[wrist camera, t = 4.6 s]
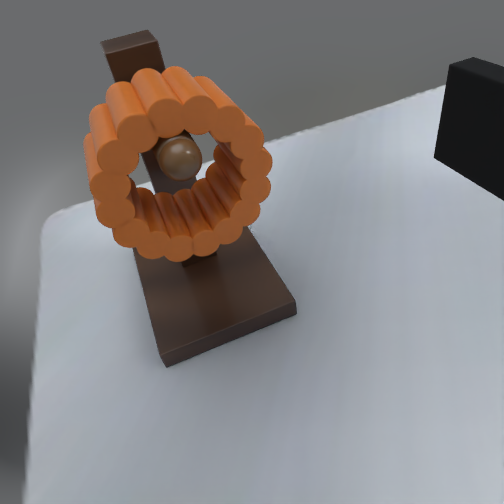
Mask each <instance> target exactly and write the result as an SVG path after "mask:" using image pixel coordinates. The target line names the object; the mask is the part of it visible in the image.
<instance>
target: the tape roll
mask: <svg viewBox="0 0 504 504" xmlns="http://www.w3.org/2000/svg"><path fill="white" fill-rule="evenodd" d="M89 123H90V128H91V132H90V133H89V134H87V136H86V137H85V139H84V143H83V146H84V153H85V159H86V166H87V172H88V178H89V186H90V191H91V193H92V195H93V198H94V204H95V210H96V216H97V219H98V220H99V222H100V223H101V224H102V225H104V226H106V227H108V228H112V232H113V237H114V240H115V241H116V242H117V243H118V244H119V245H121V246H123V247H127V248H134V247H136V248H137V251H138V253H139V254H140V255H141V256H142V257H144V258H147V259H157V258H160V257H162V256H165V257H166V258H167V259H168V260H170V261H173V262H181V261H184V260H187V259H188V258H190V257H191V256H192V255H193V254H195V255H197V256H208V255H210V254H212V253H214V252H215V251H216V250H217V249H218V247H219V245H220V244H230V243H233V242H234V241H236V240H237V239H238V238H239V237H240V236H241V234H242V231H243V227H245V226H248V225H250V224H252V223H254V222H255V221H256V220H257V218H258V217H259V214H260V205H259V203H261V202H263V201H264V200H265V199H266V198H267V197H268V195H269V193H270V190H271V183H270V181H269V179H268V178H267V177H266V176H267V175H268V173H269V172H270V170H271V168H272V157H271V155H270V153H269V152H268V151H267V150H266V149H265V148H264V147H263V144H264V135H263V132H262V130H261V129H260V128H259V127H258V126H257V125H256V124H255V123H254V122H253V121H252V120H251V119H250V118H249V117H248V116H247V115H246V114H245V113H244V112H243V111H242V110H241V109H240V108H239V107H238V106H237V105H236V104H235V103H234V102H233V101H232V100H231V99H230V98H229V97H228V96H227V95H226V94H224V92H222V90H221V89H220V88H219V87H217V85H216V84H215V83H213V81H211V80H210V79H209V78H207V77H204V76H197V77H194V78H193V77H192V76H191V75H190V74H189V73H188V72H187V71H186V70H185V69H183V68H181V67H177V66H175V67H170V68H168V69H166V70H165V71H163V73H162V74H160V73H159V72H158V71H156V70H154V69H151V68H144V69H141V70H139V71H137V72H136V73H135V74H134V76H133V77H132V80H131V83H129V82H124V81H122V82H117V83H114V84H113V85H111V86H110V87H109V89H108V91H107V93H106V103H105V104H100V105H97V106H96V107H94V108H93V109H92V111H91V112H90V115H89ZM184 129H185V130H186V131H187V132H189V133H191V134H194V135H202V134H205V133H207V132H209V133H210V134H211V135H212V137H213V138H214V139H215V141H216V142H217V143H218V145H217V146H216V148H215V150H214V154H213V156H214V160H215V162H214V163H212V164H211V165H210V166H209V167H208V169H207V171H206V175H205V176H206V178H202V179H199V180H197V181H196V182H195V183H194V184H193V186H192V188H191V190H190V189H182V190H179V191H177V192H176V193H175V194H174V195H172V194H170V193H167V192H159V193H156V194H155V195H153V193H152V192H151V191H150V190H148V189H146V188H142V187H139V188H136V185H135V183H134V181H133V180H132V179H131V178H129V176H128V174H130V173H131V172H133V171H134V170H135V169H136V167H137V165H138V162H139V153H144V152H147V151H149V150H150V149H152V148H153V147H154V146H155V145H156V143H157V141H158V138H159V137H161V138H173V137H175V136H177V135H179V134H180V133H181V132H182V131H183V130H184Z"/></svg>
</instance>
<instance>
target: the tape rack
mask: <svg viewBox="0 0 504 504" xmlns="http://www.w3.org/2000/svg"><path fill="white" fill-rule="evenodd" d="M100 44H101V47H102V50H103V52H104V55H105V58H106V61H107V63H108V66H109V69H110V71H111V74H112V77H113V80H114V82H115V83H117V82H122V81H124V82H129V83H131V80H132V77H133V76H134V74H135V73H136V72H137V71H139V70H141V69H144V68H151V69H154V70H156V71H158V72H159V73H160V74H162V73H163V71H165V70H166V69H165V66H164V62H163V58H162V55H161V51H160V47H159V44H158V41H157V39H155V37H154V36H153V35H152V34H151V33H150V32H149V30H144V31H140V32H136V33H133V34H129V35H125V36H121V37H117V38H113V39H110V40H106V41H102V42H100ZM141 156H142V158H143V161H144V164H145V166H146V169H147V172H148V175H149V178H150V180H151V183H152V186H153V188H154V191H155V194H156V193H159V192H167V193H170V194H172V195H174V194H175V193H176V192H177V191H179V190H182V189H190V190H191V188H192V186H193V184H194V183H195V182H196V181H197V180H196V175H197V173H198V172H199V170H200V168H201V165H202V155H201V152H200V149H199V148H198V146H197V145H196V143H195V142H194V140H193V138H192V137H191V135H190V134H189V132H187V131H186V130H185V129H184V130H183V131H182V132H181V133H180V134H179V135H177V136H175V137H173V138H161V137H159V138H158V141H157V143H156V145H155V146H154V147H153V148H152V149H150V150H149V151H147V152H144V153H141ZM133 252H134V256H135V260H136V264H137V268H138V272H139V276H140V280H141V284H142V288H143V292H144V296H145V299H146V303H147V307H148V311H149V315H150V319H151V323H152V327H153V331H154V335H155V339H156V343H157V347H158V351H159V354H160V357H161V359H162V361H163V363H164V365H165V366H166V367H169V366H171V365H173V364H176V363H178V362H181V361H183V360H186V359H188V358H190V357H193V356H195V355H198V354H200V353H203V352H205V351H207V350H210V349H212V348H215V347H217V346H220V345H222V344H224V343H227V342H229V341H232V340H234V339H237V338H239V337H241V336H244V335H246V334H249V333H251V332H253V331H256V330H258V329H261V328H263V327H266V326H268V325H270V324H273V323H275V322H278V321H280V320H283V319H285V318H287V317H290V316H292V315H295V314H296V313H297V312H296V303H295V300H294V298H293V296H292V295H291V293H290V292H289V290H288V289H287V287H286V286H285V284H284V283H283V281H282V279H281V278H280V276H279V275H278V273H277V272H276V270H275V269H274V267H273V266H272V264H271V262H270V261H269V259H268V258H267V256H266V255H265V253H264V252H263V250H262V248H261V247H260V245H259V244H258V242H257V241H256V239H255V238H254V236H253V235H252V233H251V231H250V230H249V228H248V227H247V226H245V227H243V231H242V234H241V236H240V237H239V238H238V239H237V240H236V241H234V242H233V243H230V244H220V245H219V247H218V249H217V250H216V251H215V252H214V253H212V254H210V255H208V256H197V255H195V254H193V255H192V256H191V257H190V258H188V259H187V260H184V261H181V262H173V261H170V260H168V259H167V258H166V257H165V256H162V257H160V258H157V259H147V258H144V257H142V256H141V255H140V254H139V253H138V251H137V248H136V247H134V248H133Z"/></svg>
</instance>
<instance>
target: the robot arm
mask: <svg viewBox="0 0 504 504" xmlns="http://www.w3.org/2000/svg"><path fill="white" fill-rule="evenodd" d="M434 158H435V159H437V160H438V161H440V162H442V163H443V164H445V165H446V166H448V167H450V168H451V169H453V170H455V171H456V172H458V173H459V174H461V175H463V176H464V177H466V178H468V179H469V180H471V181H472V182H474V183H476V184H477V185H479V186H481V187H482V188H484V189H485V190H487V191H489V192H490V193H492V194H494V195H495V196H497V197H498V198H500V199H502V200H503V201H504V67H503V66H500V65H497V64H493V63H490V62H487V61H484V60H481V59H478V58H474V57H472V58H470V59H466V60H463V61H459V62H456V63H453V64H450V65H449V71H448V76H447V82H446V88H445V94H444V100H443V105H442V111H441V117H440V123H439V129H438V135H437V141H436V147H435V153H434Z"/></svg>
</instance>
